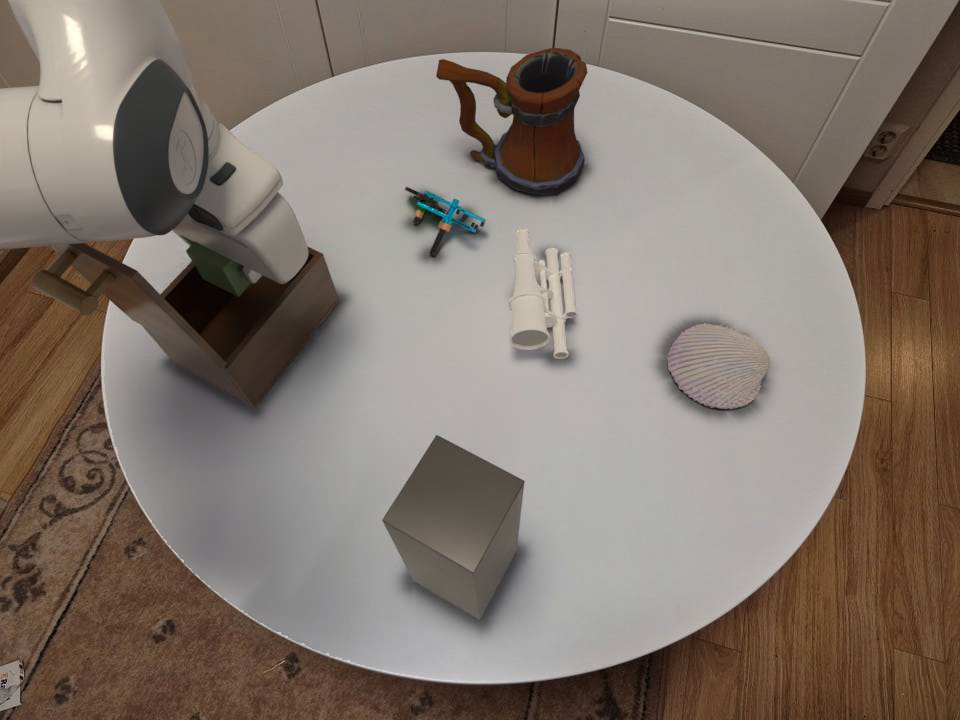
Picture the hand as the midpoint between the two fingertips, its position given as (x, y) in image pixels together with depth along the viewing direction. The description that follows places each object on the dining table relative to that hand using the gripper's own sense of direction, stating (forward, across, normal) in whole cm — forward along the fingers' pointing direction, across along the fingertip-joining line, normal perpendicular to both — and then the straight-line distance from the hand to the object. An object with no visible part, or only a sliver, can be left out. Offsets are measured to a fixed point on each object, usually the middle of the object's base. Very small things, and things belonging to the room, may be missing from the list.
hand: (230, 264), depth 66 cm
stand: (+11, +33, -12) cm, 37 cm away
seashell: (+11, +46, +19) cm, 51 cm away
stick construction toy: (+11, +10, +21) cm, 26 cm away
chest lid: (-6, 0, -9) cm, 11 cm away
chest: (+11, 0, -1) cm, 11 cm away
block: (+1, 0, 0) cm, 1 cm away
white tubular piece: (+11, +26, +17) cm, 33 cm away
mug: (+11, +13, +35) cm, 39 cm away
